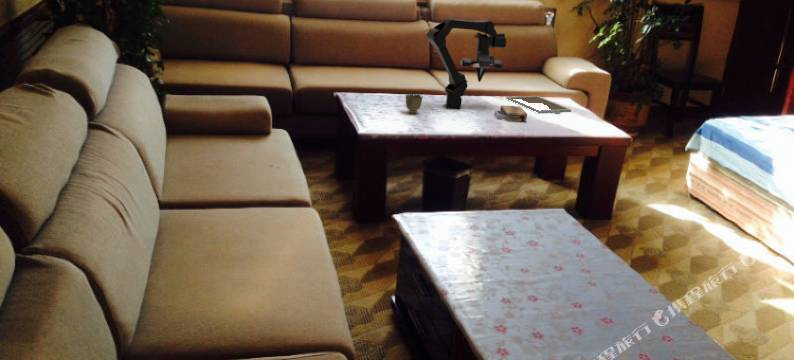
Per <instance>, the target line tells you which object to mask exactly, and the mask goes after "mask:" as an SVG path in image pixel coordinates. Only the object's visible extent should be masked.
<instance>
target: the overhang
mask: <svg viewBox="0 0 794 360" xmlns="http://www.w3.org/2000/svg"><path fill="white" fill-rule="evenodd" d="M499 110H500V111H504V112H505V113H506V114H507V115H520V118H505V120H512V121H511V122H522V121H523V123H527V119H528V113H527V112H526V111H525V110H524V109H523V108H522V106H520V105H519V106H517V105H500V109H499ZM513 120H514V121H513Z"/></svg>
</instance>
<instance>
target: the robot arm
mask: <svg viewBox="0 0 794 360" xmlns="http://www.w3.org/2000/svg"><path fill="white" fill-rule="evenodd" d="M453 29H459V30H460V29H461V30H472V31H477V32H476V34H474V36H473V38H476V39H477V43H476V44H477V47H476V51H475V52H476V54H475V58H474V59H475V60H472V59H470V58H466V57H462V58H461V59H460V62H459V63H460V65H461V66H462V67H470V66H471V67H473V69H474V70H475V73H476V77H477V78H476V79H477V81H478V82H479V83H480V82H481V81H482V79H483V76H484V75H485V74H486V72H487V71H488V70H490V67H493V66H494V68H495V69H502V68H503V62H502V61H501V60H500V59H499V60H497V59H496V58H495V56H492V55H490V49H504V48H506V45H507V38H506V34H505V33H504V32H499V33H498V32H497V31H496V29H495V24H494V22H493V21H491V20H488V19H484V18H483V19H481V18H480V19H475V20H467V19H466V20H465V19H456V18H450V17H447V18H445V19H444V20H443V21H442V22H440V23H438V24H436V25H435V26H434V27H433V28H430V29H429V30H428V31H427V34H426V38H427V39H428V42H429V43H430V44H431V45H432V46H433V47H434V49H436V51H437V54H438V56H439V58H440V60H441V62H442V64H443V66H444V68H445V70H446V72H447V74H448V83H447V85H446V86H445V87H444V91H445V93H446V98H445V103H444V106H445V108H446V109H451V110H453V109H454V110H461V108H462V101H463V98H462V97H463V96H464V93H465V92H466V91H467V88H468V82H469V81H468V80H467V78H466V76H465V74H463V73H461V72H459V71H458V68H457V67H456V64H455V62H454V61H453V60H454V59H453V58H452V56H451V54H450V52H449V49H448V47H447V39H446V38H447V37H448V36H449V35H450V33H451V31H452V30H453Z"/></svg>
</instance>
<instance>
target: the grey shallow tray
mask: <svg viewBox="0 0 794 360" xmlns="http://www.w3.org/2000/svg"><path fill="white" fill-rule="evenodd" d="M493 114H494V116H495V118H496V117H497V118H496V119H497V120H502V119H505V118H520V115H507V114H506V113H505V112H504V111H500V109H499V110H498V109H497V110H494V113H493Z"/></svg>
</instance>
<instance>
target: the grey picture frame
mask: <svg viewBox="0 0 794 360" xmlns="http://www.w3.org/2000/svg"><path fill="white" fill-rule="evenodd" d="M505 99H506V100H507V99H508V100H507V101H509V100H511V101H513V102H512V103H514V102H515V103H514V104H516V103H518V104H520V105H522V106H521V107H523V106H524V107H523V108H525V107H526V109H527V108H529V109H531V110H530V111H532V110H533V111H532V112H534V111H536V112H538V113H537V114H539V113H542V114H553V113H554V115H555V114H556V115H560V114H561V113H571V112H572V109H571V108H568V107H566V106H563V105H561V104H558V103H556V102H553V101H551V100H549V99H546V98H544V97H541V96H539V95H527V96H525V95H524V96H506V97H505ZM513 99H522V100H523V101H526V102H528V103H543V104H544V105H547V106H548V107H549V109H551V110H541V111H539V110H536V109H534V108H532V107H530V106H527V105H525V104H523V103H520V102H518V101H516V100H513ZM511 101H510V102H511ZM518 104H517V105H518ZM520 105H519V106H520ZM529 109H528V110H529ZM536 112H535V113H536Z"/></svg>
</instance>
